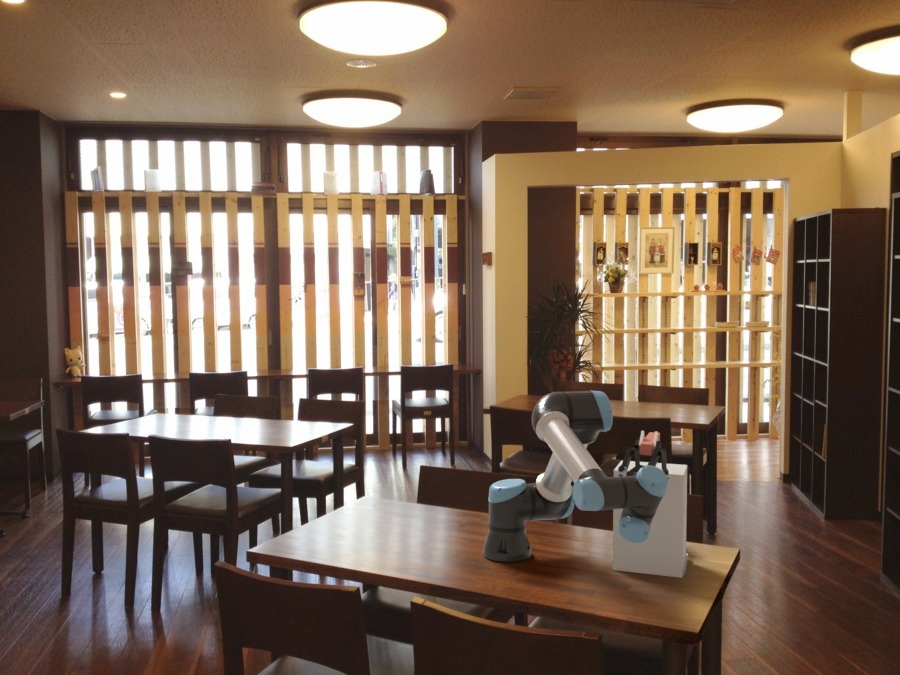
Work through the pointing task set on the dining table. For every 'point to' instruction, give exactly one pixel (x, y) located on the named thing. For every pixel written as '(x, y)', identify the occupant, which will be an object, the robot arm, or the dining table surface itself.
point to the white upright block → (657, 532)
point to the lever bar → (648, 444)
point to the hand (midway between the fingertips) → (649, 434)
